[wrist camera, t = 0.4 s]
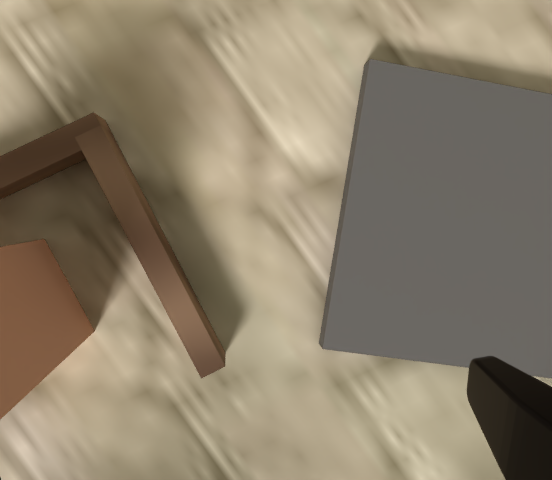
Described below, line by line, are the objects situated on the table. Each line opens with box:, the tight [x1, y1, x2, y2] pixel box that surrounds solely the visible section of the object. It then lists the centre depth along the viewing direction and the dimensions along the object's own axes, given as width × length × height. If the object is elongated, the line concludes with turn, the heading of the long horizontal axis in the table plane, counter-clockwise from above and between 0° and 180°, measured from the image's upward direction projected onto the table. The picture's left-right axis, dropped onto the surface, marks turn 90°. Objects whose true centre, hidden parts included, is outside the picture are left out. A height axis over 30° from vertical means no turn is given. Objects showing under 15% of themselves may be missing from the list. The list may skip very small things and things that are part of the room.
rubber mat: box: [319, 59, 552, 378], centre depth 24 cm, size 14×14×1 cm
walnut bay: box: [0, 113, 225, 378], centre depth 22 cm, size 13×15×2 cm
